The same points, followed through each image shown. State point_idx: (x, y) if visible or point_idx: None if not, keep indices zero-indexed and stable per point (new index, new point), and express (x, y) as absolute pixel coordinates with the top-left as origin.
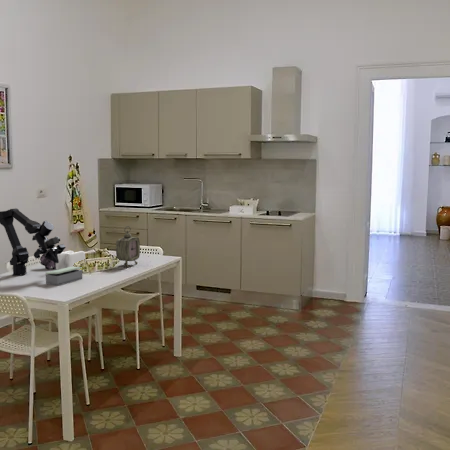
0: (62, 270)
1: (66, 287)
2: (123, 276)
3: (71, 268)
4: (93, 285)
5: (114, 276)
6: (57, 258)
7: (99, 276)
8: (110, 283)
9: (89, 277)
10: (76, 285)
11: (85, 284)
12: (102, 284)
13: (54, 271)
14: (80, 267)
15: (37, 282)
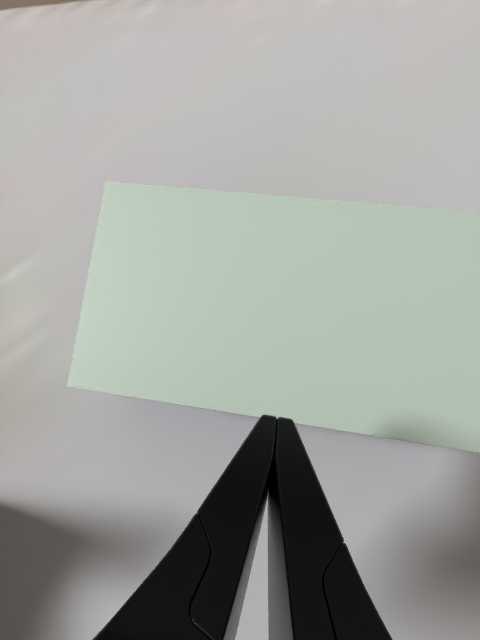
0: (374, 261)
1: (455, 178)
2: (5, 52)
3: (228, 233)
4: (310, 57)
5: (16, 99)
6: (244, 472)
7: (37, 188)
8: (217, 5)
9: (87, 235)
10: (363, 154)
11: (307, 119)
12: (261, 28)
13: (438, 350)
14: (130, 186)
15: (434, 575)
